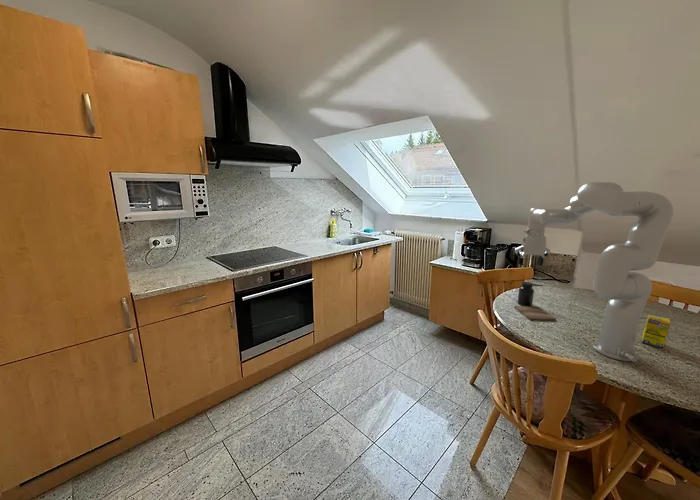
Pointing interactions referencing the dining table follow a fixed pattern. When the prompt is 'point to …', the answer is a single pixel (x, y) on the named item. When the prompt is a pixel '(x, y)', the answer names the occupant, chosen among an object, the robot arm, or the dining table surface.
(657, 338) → the supplement box
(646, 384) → the dining table surface
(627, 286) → the robot arm
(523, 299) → the supplement bottle
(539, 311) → the walnut board
